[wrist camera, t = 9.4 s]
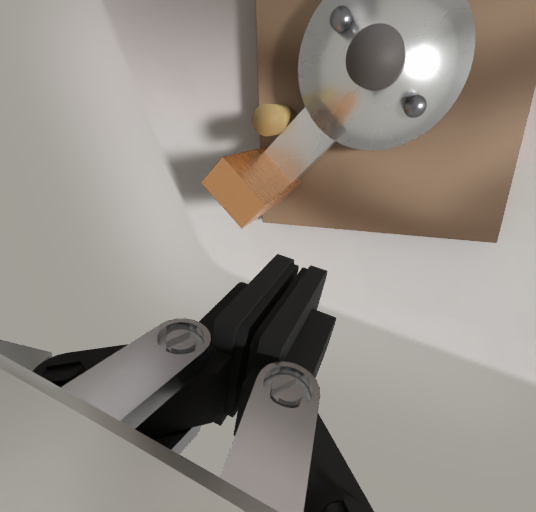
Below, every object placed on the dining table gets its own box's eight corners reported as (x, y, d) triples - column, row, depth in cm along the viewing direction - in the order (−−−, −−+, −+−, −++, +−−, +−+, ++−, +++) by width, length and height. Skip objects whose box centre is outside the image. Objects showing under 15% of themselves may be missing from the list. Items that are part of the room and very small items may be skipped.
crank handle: (395, -75, 15) (388, -175, 10) (509, 60, 16) (559, 33, 10) (225, 136, 22) (166, 144, 17) (307, 229, 22) (275, 266, 17)
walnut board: (262, -112, 18) (210, -191, 13) (594, -202, 13) (697, -378, 9) (270, 216, 25) (237, 240, 20) (491, 234, 20) (516, 271, 15)
